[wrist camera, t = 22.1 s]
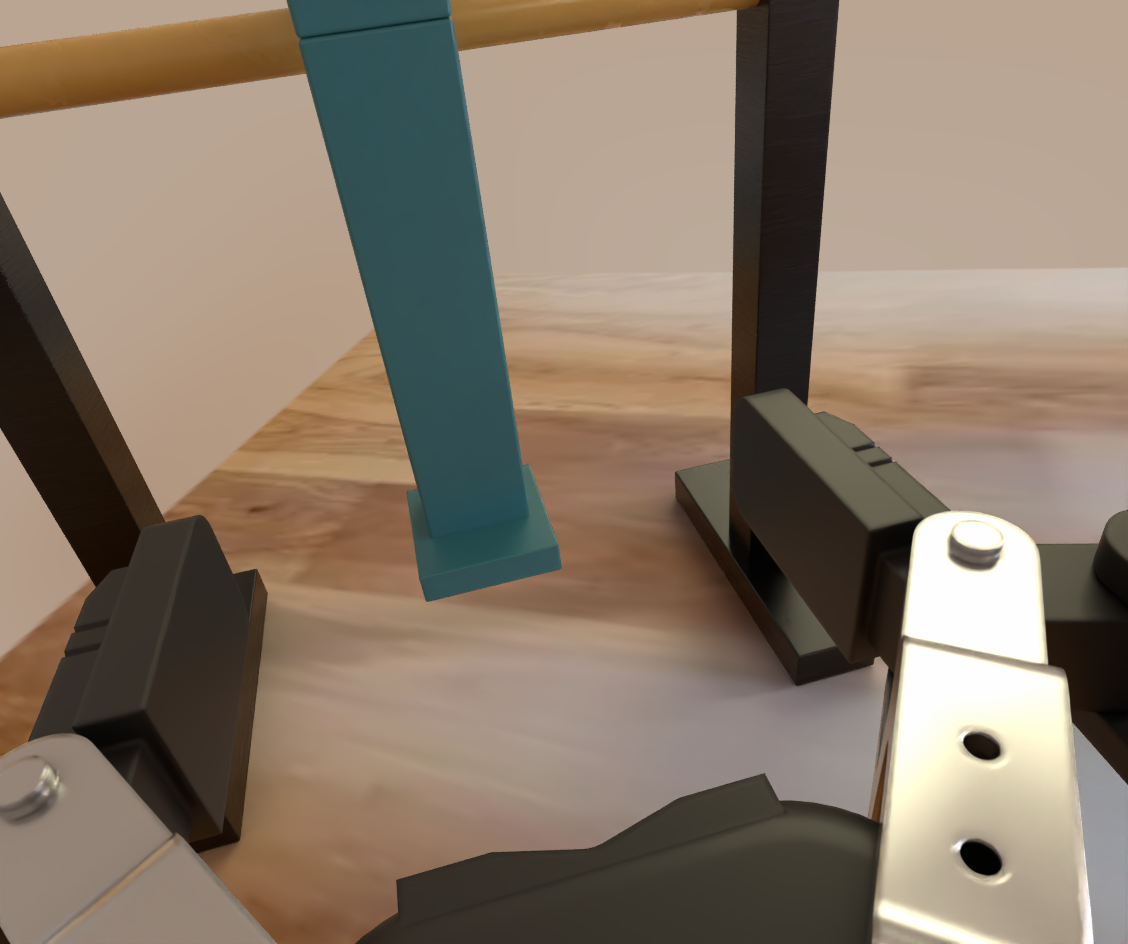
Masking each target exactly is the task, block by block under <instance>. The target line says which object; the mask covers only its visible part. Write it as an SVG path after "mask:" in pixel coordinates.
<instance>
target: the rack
mask: <svg viewBox="0 0 1128 944" xmlns="http://www.w3.org/2000/svg"><path fill="white" fill-rule="evenodd" d="M450 2H451V8H452V13H451V16H450V17H451V18H452V20H453V22H454V28H455V34H456V41H457V47H458V51H462V50H469V49H476V48H483V47H489V46H496V45H502V44H509V43H517V42H522V41H530V40H537V39H544V38H551V37H557V36H564V35H571V34H578V33H584V32H591V31H597V30H604V29H611V28H618V27H625V26H632V25H638V24H645V23H652V22H659V21H666V20H672V19H679V18H686V17H693V16H699V15H706V14H713V13H720V12H727V11H733V10H737V42H736V105H735V106H736V107H735V170H734V175H735V177H734V235H733V239H734V240H733V299H732V364H731V429H730V459H728V460H723V461H719V462H715V463H710V464H706V465H702V466H697V467H693V468H689V469H684V470H680V471H676V472H675V488H676V498H677V499H678V501H679V503H680V504H681V506H682V507H683V509H684V510H685V512H686V513H687V515H688V517H689V518H690V520H691V521H692V523H693V524H694V526H695V528H696V529H697V531H698V532H699V534H700V535H701V537H702V539H703V540H704V542H705V543H706V545H707V546H708V548H709V550H710V551H711V553H712V554H713V556H714V557H715V559H716V561H717V562H718V564H719V565H720V567H721V568H722V570H723V571H724V573H725V575H726V576H727V578H728V579H729V581H730V582H731V584H732V586H733V587H734V589H735V590H736V592H737V593H738V595H739V597H740V598H741V600H742V601H743V603H744V604H745V606H746V608H747V609H748V611H749V612H750V614H751V615H752V617H753V619H754V620H755V622H756V623H757V625H758V626H759V628H760V629H761V631H762V633H763V634H764V636H765V637H766V639H767V640H768V642H769V644H770V645H771V647H772V648H773V650H774V651H775V653H776V655H777V656H778V658H779V659H780V661H781V662H782V664H783V666H784V667H785V669H786V670H787V672H788V673H789V675H790V677H791V678H792V680H793V681H794V683H795V684H796V685H802V684H805V683H809V682H812V681H816V680H820V679H823V678H827V677H830V676H834V675H838V674H841V673H845V672H848V671H852V670H856V669H859V668H863V667H866V666H870V665H873V664H874V658H872V659H868V660H864V661H861V662H857V663H853V664H850V663H849V662H848V661H847V659H846V658H845V657H844V655H843V654H842V653H841V651H840V650H839V648H838V647H837V646H836V644H835V643H834V642H833V640H832V639H831V637H830V636H829V635H828V633H827V632H826V631H825V629H824V628H823V627H822V625H821V624H820V622H819V621H818V620H817V618H816V617H815V616H814V614H813V613H812V612H811V610H810V609H809V607H808V606H807V605H806V603H805V602H804V601H803V599H802V598H801V596H800V595H799V594H798V592H797V591H796V590H795V588H794V587H793V586H792V584H791V583H790V581H789V580H788V579H787V577H786V576H785V575H784V573H783V572H782V570H781V569H780V568H779V566H778V565H777V564H776V562H775V561H774V560H773V558H772V557H771V555H770V554H769V553H768V551H767V550H766V549H765V547H764V546H763V544H762V543H761V542H760V540H759V539H758V538H757V536H756V535H755V534H754V532H753V531H752V529H751V528H750V527H749V525H748V524H747V523H746V521H745V520H744V518H743V517H742V515H741V513H740V511H739V509H738V506H737V503H736V500H735V496H734V491H733V483H732V472H733V415H734V406H735V403H736V401H737V400H738V399H739V398H741V397H746V396H751V395H755V394H760V393H764V392H769V391H773V390H778V389H782V388H786V389H788V390H790V391H791V392H792V393H793V394H794V395H795V396H796V397H797V398H798V399H800V400H801V401H802V402H803V403H804V404H805V405H806V406H807V402H808V390H809V377H810V364H811V351H812V339H813V326H814V313H815V301H816V288H817V275H818V262H819V250H820V237H821V224H822V212H823V199H824V198H823V197H824V186H825V174H826V161H827V148H828V135H829V123H830V109H831V97H832V85H833V72H834V58H835V47H836V34H837V21H838V7H839V0H450ZM298 43H299V37H298V36H297V35H296V33H295V30H294V26H293V23H292V19H291V15H290V11H289V8H285V9H277V10H270V11H263V12H256V13H248V14H241V15H233V16H226V17H218V18H211V19H204V20H196V21H189V22H182V23H174V24H168V25H161V26H160V25H159V26H152V27H145V28H137V29H130V30H123V31H115V32H108V33H101V34H93V35H87V36H79V37H71V38H64V39H57V40H49V41H43V42H35V43H27V44H20V45H13V46H5V47H0V119H2V118H8V117H15V116H22V115H29V114H36V113H43V112H49V111H55V110H63V109H70V108H76V107H83V106H90V105H97V104H104V103H110V102H117V101H124V100H131V99H137V98H144V97H151V96H157V95H164V94H171V93H178V92H184V91H192V90H198V89H205V88H212V87H218V86H226V85H232V84H239V83H246V82H253V81H259V80H266V79H273V78H279V77H286V76H293V75H300V74H306V71H305V67H304V64H303V60H302V56H301V52H300V49H299V45H298ZM0 428H1V430H2V432H3V433H4V435H5V437H6V438H7V440H8V441H9V443H10V445H11V447H12V448H13V450H14V451H15V453H16V455H17V456H18V458H19V460H20V462H21V463H22V465H23V467H24V468H25V470H26V472H27V473H28V475H29V477H30V478H31V480H32V482H33V483H34V485H35V486H36V488H37V490H38V492H39V493H40V495H41V497H42V498H43V500H44V501H45V503H46V505H47V507H48V508H49V510H50V512H51V513H52V515H53V517H54V518H55V520H56V522H57V523H58V525H59V527H60V528H61V530H62V532H63V533H64V535H65V537H66V538H67V540H68V541H69V543H70V545H71V547H72V548H73V550H74V551H75V553H76V555H77V556H78V558H79V560H80V561H81V563H82V565H83V566H84V568H85V570H86V571H87V573H88V575H89V576H90V578H91V580H92V581H93V583H94V585H95V586H96V587H97V586H98V585H99V584H100V583H101V581H102V580H103V579H104V578H105V577H106V576H107V575H108V574H109V573H110V572H111V570H115V569H119V568H124V567H128V566H129V564H130V561H131V558H132V555H133V552H134V550H135V547H136V544H137V541H138V538H139V535H140V533H141V531H142V529H143V528H144V527H146V526H151V525H155V524H160V523H164V522H165V520H164V518H163V516H162V514H161V512H160V510H159V508H158V506H157V504H156V502H155V500H154V498H153V497H152V494H151V492H150V490H149V488H148V486H147V485H146V482H145V480H144V478H143V476H142V474H141V473H140V470H139V469H138V466H137V464H136V462H135V460H134V459H133V456H132V455H131V452H130V450H129V449H128V446H127V445H126V442H125V440H124V438H123V436H122V435H121V432H120V430H119V428H118V426H117V424H116V422H115V421H114V418H113V416H112V415H111V412H110V411H109V408H108V406H107V404H106V402H105V401H104V398H103V397H102V395H101V393H100V391H99V389H98V387H97V385H96V383H95V381H94V379H93V377H92V375H91V373H90V371H89V369H88V367H87V365H86V363H85V361H84V359H83V357H82V355H81V353H80V351H79V349H78V347H77V345H76V343H75V341H74V339H73V337H72V335H71V333H70V331H69V329H68V327H67V325H66V323H65V321H64V319H63V317H62V315H61V313H60V311H59V309H58V307H57V305H56V303H55V301H54V299H53V297H52V295H51V293H50V291H49V289H48V287H47V285H46V283H45V281H44V279H43V277H42V275H41V273H40V271H39V269H38V267H37V265H36V263H35V261H34V259H33V257H32V255H31V253H30V251H29V249H28V247H27V245H26V243H25V241H24V239H23V237H22V235H21V233H20V231H19V229H18V227H17V225H16V223H15V221H14V219H13V217H12V215H11V213H10V211H9V209H8V207H7V205H6V203H5V201H4V199H3V197H2V195H1V193H0ZM233 575H234V578H235V580H236V582H237V584H238V586H239V588H240V591H241V593H242V595H243V598H244V601H245V605H246V609H247V613H248V620H249V641H248V648H247V655H246V662H245V670H244V677H243V684H242V691H241V699H240V706H239V713H238V721H237V728H236V735H235V742H234V750H233V757H232V764H231V771H230V779H229V786H228V793H227V800H226V808H225V815H224V822H223V829H222V834H219V835H216V836H212V837H208V838H205V839H201V840H198V841H194V842H190V843H188V844H189V845H190V846H191V847H192V849H193V850H194V851H195V852H196V853H198V852H202V851H205V850H209V849H213V848H216V847H220V846H223V845H227V844H230V843H234V842H238V841H239V840H240V834H241V825H242V816H243V807H244V798H245V789H246V780H247V772H248V763H249V754H250V745H251V736H252V727H253V718H254V710H255V701H256V692H257V683H258V674H259V665H260V656H261V647H262V639H263V630H264V621H265V612H266V603H267V594H268V593H267V591H266V588H265V586H264V584H263V582H262V579H261V577H260V575H259V572H258V570H257V569H253V570H249V571H244V572H240V573H236V574H233Z"/></svg>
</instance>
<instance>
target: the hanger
mask: <svg viewBox="0 0 1128 944" xmlns="http://www.w3.org/2000/svg"><path fill="white" fill-rule="evenodd" d="M287 4H288V8H289V11H290V15H291V19H292V23H293V26H294V30H295V33H296V35H297V36H298V37H299V43H298V45H299V49H300V52H301V56H302V60H303V64H304V67H305V71H306V74H307V78H308V82H309V86H310V90H311V93H312V97H313V101H314V104H315V108H316V112H317V116H318V119H319V123H320V127H321V130H322V134H323V138H324V142H325V145H326V149H327V153H328V156H329V160H330V164H331V168H332V171H333V175H334V179H335V183H336V187H337V190H338V194H339V198H340V201H341V205H342V209H343V213H344V216H345V220H346V224H347V228H348V231H349V235H350V239H351V242H352V246H353V249H354V254H355V257H356V261H357V265H358V269H359V272H360V276H361V280H362V283H363V287H364V291H365V295H366V298H367V302H368V306H369V309H370V313H371V317H372V321H373V324H374V328H375V332H376V336H377V339H378V343H379V347H380V350H381V354H382V358H383V362H384V365H385V369H386V373H387V377H388V380H389V384H390V388H391V391H392V395H393V399H394V403H395V406H396V410H397V414H398V418H399V421H400V425H401V429H402V432H403V436H404V440H405V444H406V447H407V451H408V455H409V459H410V462H411V466H412V470H413V473H414V477H415V481H416V485H417V488H418V489H415V490H411V491H407V498H408V505H409V512H410V519H411V525H412V532H413V539H414V546H415V553H416V559H417V566H418V573H419V579H420V583H421V586H422V590H423V593H424V596H425V600H426V601H427V602H429V601H433V600H437V599H441V598H446V597H450V596H454V595H458V594H462V593H466V592H470V591H474V590H478V589H482V588H486V587H490V586H494V585H498V584H502V583H507V582H511V581H515V580H519V579H523V578H527V577H531V576H535V575H539V574H543V573H547V572H551V571H555V570H559V569H561V559H560V552H559V545H558V542H557V539H556V536H555V534H554V531H553V528H552V525H551V523H550V520H549V517H548V514H547V512H546V509H545V506H544V503H543V500H542V498H541V495H540V492H539V489H538V487H537V484H536V481H535V478H534V476H533V473H532V470H531V467H530V465H529V464H526V465H522V459H521V453H520V446H519V440H518V434H517V427H516V421H515V414H514V408H513V401H512V395H511V388H510V382H509V376H508V369H507V363H506V356H505V350H504V343H503V337H502V331H501V324H500V318H499V311H498V305H497V298H496V292H495V285H494V279H493V273H492V266H491V260H490V253H489V247H488V240H487V234H486V227H485V221H484V215H483V208H482V202H481V195H480V189H479V182H478V176H477V170H476V163H475V157H474V150H473V144H472V137H471V131H470V124H469V118H468V112H467V105H466V99H465V93H464V86H463V79H462V74H461V66H460V60H459V54H458V47H457V41H456V34H455V28H454V22H453V20H452V18H451V17H450V16H451V13H452V8H451V2H450V0H287Z"/></svg>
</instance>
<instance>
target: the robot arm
mask: <svg viewBox="0 0 1128 944" xmlns="http://www.w3.org/2000/svg"><path fill="white" fill-rule="evenodd" d="M732 483H733V491H734V496H735V500H736V503H737V506H738V509H739V511H740V513H741V515H742V517H743V518H744V520H745V521H746V523H747V524H748V525H749V527H750V528H751V529H752V531H753V532H754V534H755V535H756V536H757V538H758V539H759V540H760V542H761V543H762V544H763V546H764V547H765V549H766V550H767V551H768V553H769V554H770V555H771V557H772V558H773V560H774V561H775V562H776V564H777V565H778V566H779V568H780V569H781V570H782V572H783V573H784V575H785V576H786V577H787V579H788V580H789V581H790V583H791V584H792V586H793V587H794V588H795V590H796V591H797V592H798V594H799V595H800V596H801V598H802V599H803V601H804V602H805V603H806V605H807V606H808V607H809V609H810V610H811V612H812V613H813V614H814V616H815V617H816V618H817V620H818V621H819V622H820V624H821V625H822V627H823V628H824V629H825V631H826V632H827V633H828V635H829V636H830V637H831V639H832V640H833V642H834V643H835V644H836V646H837V647H838V648H839V650H840V651H841V653H842V654H843V655H844V657H845V658H846V659H847V661H848V662H849V663H850V664H853V663H857V662H861V661H864V660H868V659H872V658H875V657H879V656H880V657H881V658H882V660H883V661H884V662H885V663H886V665H887V666H888V667H889V668H888V673H887V679H886V685H885V692H884V700H883V708H882V715H881V723H880V731H879V739H878V746H877V754H876V762H875V769H874V777H873V785H872V792H871V799H870V805H869V812H868V818H867V817H864V816H862V815H860V814H857V813H853V812H850V811H847V810H844V809H841V808H837V807H833V806H828V805H823V804H818V803H813V802H802V801H779V800H778V798H777V796H776V794H775V792H774V790H773V788H772V786H771V784H770V783H769V781H768V779H767V777H766V775H765V773H764V774H760V775H757V776H753V777H750V778H746V779H743V780H739V781H736V782H733V783H729V784H726V785H722V786H719V787H715V788H712V789H708V790H705V791H702V792H698V793H695V794H691V795H688V796H684V797H681V798H678V799H676V800H675V801H673V802H671V803H670V804H668V805H666V806H665V807H663V808H661V809H660V810H658V811H656V812H654V813H653V814H651V815H649V816H648V817H646V818H644V819H643V820H641V821H639V822H638V823H636V824H634V825H633V826H631V827H629V828H628V829H626V830H624V831H623V832H621V833H619V834H618V835H616V836H614V837H613V838H611V839H609V840H607V841H606V842H604V843H602V844H600V845H598V846H596V847H593V848H589V849H575V850H546V851H518V852H491V853H488V854H484V855H481V856H477V857H474V858H470V859H467V860H464V861H460V862H457V863H453V864H450V865H446V866H443V867H439V868H436V869H433V870H429V871H426V872H422V873H419V874H415V875H412V876H408V877H405V878H401V879H398V880H396V882H397V899H398V913H396V914H395V915H393V916H392V917H390V918H388V919H387V920H385V921H383V922H382V923H381V924H379V925H378V926H377V927H375V928H374V929H373V930H371V931H370V932H369V933H367V934H366V935H365V936H363V937H362V938H361V939H360V940H359V941H358V942H356V943H355V944H1094V942H1093V932H1092V922H1091V911H1090V901H1089V891H1088V881H1087V871H1086V860H1085V850H1084V840H1083V830H1082V820H1081V810H1080V799H1079V789H1078V779H1077V769H1076V759H1075V749H1074V738H1073V728H1072V722H1073V723H1074V724H1075V726H1076V727H1077V728H1078V729H1079V730H1080V731H1081V732H1082V734H1083V735H1084V736H1085V737H1086V738H1087V739H1088V740H1089V741H1090V743H1091V744H1092V745H1093V746H1094V747H1095V748H1096V749H1097V750H1098V752H1099V753H1100V754H1101V755H1102V756H1103V757H1104V758H1105V760H1106V761H1107V762H1108V763H1109V764H1110V765H1111V766H1112V767H1113V769H1114V770H1115V771H1116V772H1117V773H1118V774H1119V775H1120V776H1121V778H1122V779H1123V780H1124V781H1125V782H1126V783H1127V784H1128V510H1125V511H1122V512H1119V513H1117V514H1115V515H1114V516H1112V517H1111V518H1110V519H1109V520H1108V522H1107V523H1106V525H1105V528H1104V531H1103V534H1102V536H1101V539H1100V542H1099V544H1035V542H1034V541H1033V540H1032V539H1031V538H1030V536H1028V535H1027V534H1026V533H1025V532H1024V531H1023V530H1021V529H1020V528H1018V527H1017V526H1015V525H1013V524H1011V523H1009V522H1007V521H1005V520H1003V519H1000V518H998V517H995V516H991V515H988V514H984V513H979V512H972V511H951V510H950V509H948V508H947V507H946V506H945V505H944V504H943V503H942V502H941V501H939V500H938V499H937V498H936V497H935V496H934V495H933V494H932V493H930V492H929V491H928V490H927V489H926V488H925V487H924V486H923V485H921V484H920V483H919V482H918V481H917V480H916V479H915V478H914V477H912V476H911V475H910V474H909V473H908V472H907V471H906V470H905V469H903V468H902V467H901V466H900V465H899V464H898V463H897V462H892V459H891V457H890V456H889V455H888V454H887V453H886V452H884V451H883V450H882V449H881V448H880V447H875V443H874V442H873V441H872V440H871V439H870V438H869V437H868V436H866V435H865V434H864V433H863V432H862V431H861V430H860V429H859V428H857V427H856V426H855V425H854V424H852V423H849V422H847V421H845V420H842V419H840V418H838V417H836V416H833V415H831V414H829V413H826V412H819V413H815V414H814V413H813V412H812V411H811V410H810V409H809V408H808V407H807V406H806V405H805V404H804V403H803V402H802V401H801V400H800V399H798V398H797V397H796V396H795V395H794V394H793V393H792V392H791V391H790V390H788V389H786V388H782V389H778V390H773V391H769V392H764V393H760V394H755V395H751V396H746V397H741V398H739V399H738V400H737V401H736V403H735V406H734V415H733V472H732ZM74 629H75V633H72V634H71V636H70V639H69V641H68V644H67V646H66V649H65V651H64V652H65V657H64V658H62V659H61V661H60V664H59V666H58V669H57V671H56V674H55V676H54V678H53V681H52V683H51V686H50V688H49V691H48V693H47V696H46V698H45V701H44V703H43V706H42V708H41V711H40V713H39V716H38V718H37V720H36V723H35V725H34V728H33V730H32V733H31V735H30V738H29V740H28V742H27V743H25V744H23V745H21V746H19V747H17V748H15V749H13V750H11V751H10V752H8V753H6V754H5V755H3V756H1V757H0V944H277V943H276V942H275V941H274V940H273V939H272V937H271V936H270V935H269V934H268V933H267V932H266V931H265V930H264V928H263V927H262V926H261V925H260V924H259V923H258V922H257V921H256V919H255V918H254V917H253V916H252V915H251V914H250V913H249V912H248V910H247V909H246V908H245V907H244V906H243V905H242V904H241V903H240V901H239V900H238V899H237V898H236V897H235V896H234V895H233V894H232V892H231V891H230V890H229V889H228V888H227V887H226V886H225V885H224V883H223V882H222V881H221V880H220V879H219V878H218V877H217V876H216V874H215V873H214V872H213V871H212V870H211V869H210V868H209V867H208V865H207V864H206V863H205V862H204V861H203V860H202V859H201V858H200V856H199V855H198V854H197V853H196V852H195V851H194V850H193V849H192V847H191V846H190V845H189V844H188V843H190V842H194V841H198V840H201V839H205V838H208V837H212V836H216V835H219V834H222V829H223V822H224V815H225V808H226V800H227V793H228V786H229V779H230V771H231V764H232V757H233V750H234V742H235V735H236V728H237V721H238V713H239V706H240V699H241V691H242V684H243V677H244V670H245V662H246V655H247V648H248V641H249V620H248V613H247V609H246V605H245V601H244V598H243V595H242V593H241V591H240V588H239V586H238V584H237V582H236V580H235V578H234V575H233V573H232V571H231V569H230V567H229V565H228V562H227V560H226V558H225V556H224V554H223V552H222V549H221V547H220V545H219V543H218V541H217V539H216V536H215V534H214V532H213V530H212V528H211V526H210V524H209V522H208V521H207V520H206V518H205V517H203V516H202V515H196V516H192V517H187V518H183V519H178V520H173V521H169V522H164V523H160V524H155V525H151V526H146V527H144V528H143V529H142V531H141V533H140V535H139V538H138V541H137V544H136V547H135V550H134V552H133V555H132V558H131V561H130V564H129V566H128V567H124V568H119V569H115V570H111V572H110V573H109V574H108V575H107V576H106V577H105V578H104V579H103V580H102V581H101V583H100V584H99V585H98V586H97V587H96V588H95V589H94V590H93V591H92V592H91V594H90V595H89V596H88V597H87V598H86V599H85V602H84V604H83V607H82V609H81V612H80V614H79V617H78V619H77V622H76V624H75V627H74Z"/></svg>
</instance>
